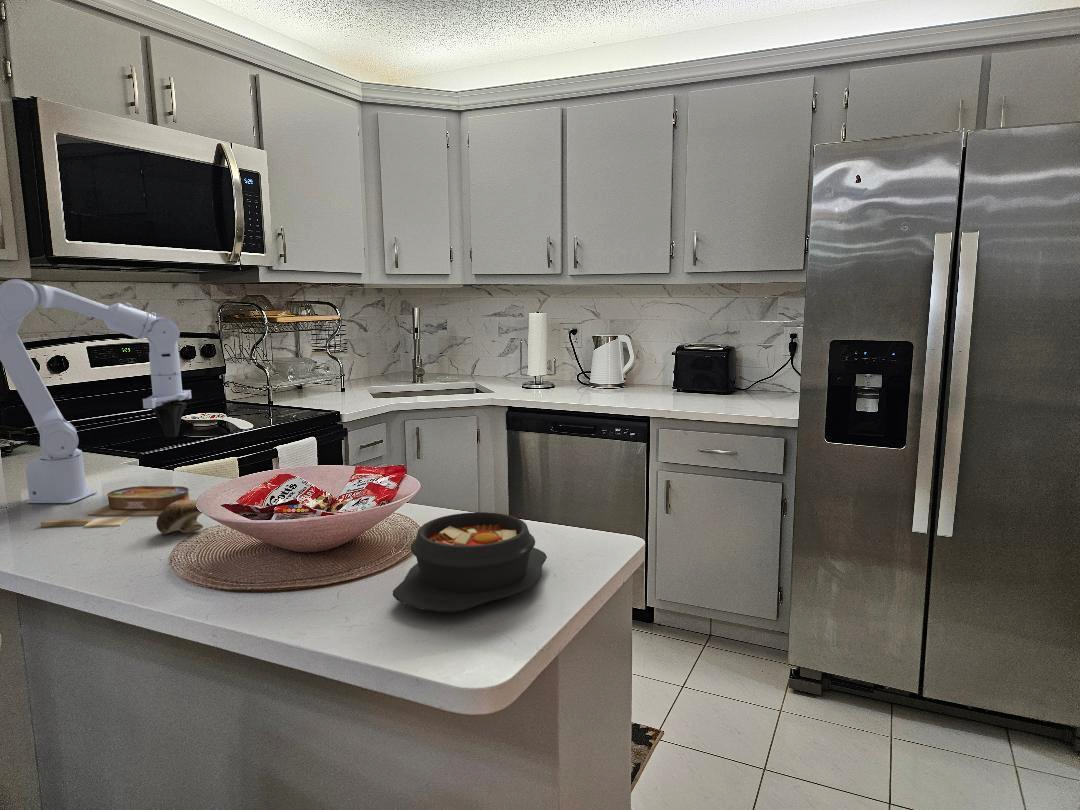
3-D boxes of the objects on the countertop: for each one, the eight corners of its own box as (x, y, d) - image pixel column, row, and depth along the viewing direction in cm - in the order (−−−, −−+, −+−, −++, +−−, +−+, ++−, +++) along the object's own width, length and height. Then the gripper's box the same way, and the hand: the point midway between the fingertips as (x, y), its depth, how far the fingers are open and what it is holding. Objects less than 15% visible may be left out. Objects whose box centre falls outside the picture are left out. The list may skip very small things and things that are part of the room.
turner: (35, 529, 125) (35, 525, 125) (49, 521, 129) (49, 517, 129) (120, 526, 126) (119, 522, 126) (131, 518, 131) (130, 514, 131)
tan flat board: (87, 515, 133) (87, 513, 133) (117, 502, 141) (117, 500, 141) (175, 515, 132) (175, 514, 132) (199, 502, 140) (199, 500, 140)
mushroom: (217, 514, 121) (195, 485, 121) (174, 542, 117) (150, 512, 116) (212, 525, 128) (190, 497, 128) (170, 552, 123) (148, 523, 123)
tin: (197, 486, 141) (171, 495, 133) (198, 502, 141) (172, 511, 133) (126, 485, 143) (96, 493, 134) (127, 500, 143) (97, 510, 135)
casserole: (476, 640, 83) (473, 571, 81) (359, 606, 92) (356, 544, 91) (576, 568, 104) (576, 512, 103) (473, 546, 113) (472, 496, 112)
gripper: (163, 378, 145) (169, 443, 147) (202, 370, 159) (207, 430, 161) (130, 378, 145) (137, 443, 147) (172, 370, 160) (177, 430, 162)
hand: (171, 436), depth 154 cm, fingers closed
